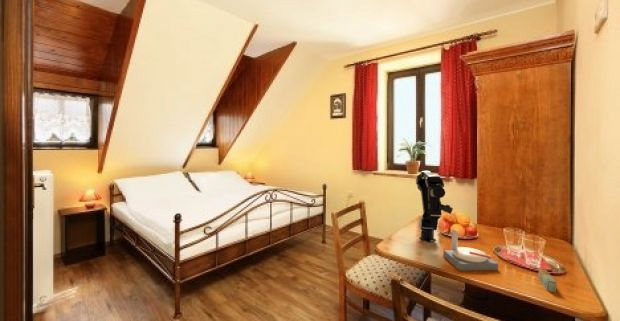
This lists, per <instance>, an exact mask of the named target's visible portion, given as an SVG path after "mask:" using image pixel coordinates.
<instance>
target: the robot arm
mask: <svg viewBox="0 0 620 321" xmlns="http://www.w3.org/2000/svg"><path fill="white" fill-rule="evenodd" d="M415 185H416V187H417V189H418V190H419V191H420V196H421V204H422V211H423V212H422V213H423V214H422V215H421V218H420V220H419V223H418V226H419V229H420V230H421V231H420V237H419V239H420V240H423V241H425V242H428V243H429V242H433V241H436V240H437V239H436V238H434V237H435V236H434V235H435V231H437V229H438V224H439V219H441V217H442V215H443V214H442V211H443V212H445V213H448V214H450V215H451V214H452V213H453V209H454V208H453V207H451V205H450V204H446V205H445V204H442V201H441V199H442V198H443V197H445V195H446V190H445V188H444V187H445V183H444V180H443V177H441V175H435V174H434V173H432V172H431V170H422V171H421V172H420V173H419V174H418V175H417V176H416V179H415Z"/></svg>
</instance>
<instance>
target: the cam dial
mask: <svg viewBox="0 0 620 321" xmlns="http://www.w3.org/2000/svg"><path fill="white" fill-rule="evenodd" d="M458 239H459V230H457V229H452V230H451V246H450V247H451V249H450V250H453V255H454V256H455V257H456V258H458V259H461V260H464V261H468V262H474V263H482V262H485V261H487V257H488V258H491V259H492V256H491V255H490V256H488V255H489V254H487V253H486V254H485V253H484V252H485V251H482V250H479V249H478V248H477V249H476V248H472V247H469V246H468V247H465V246H458V244H459V242H458V241H459V240H458Z"/></svg>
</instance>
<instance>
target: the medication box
mask: <svg viewBox="0 0 620 321" xmlns="http://www.w3.org/2000/svg"><path fill="white" fill-rule="evenodd" d="M537 275H538V279H539V281H540V282H541V284H542V285H543V287H544V288H545V290H546V291H547V292H552V293H556V290H557V281H556V280H555V279H554V278H553V275H551V274H550V272H548V270H547V269H544V268H543V269H542V268H538V274H537Z"/></svg>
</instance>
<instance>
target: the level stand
mask: <svg viewBox="0 0 620 321" xmlns="http://www.w3.org/2000/svg"><path fill="white" fill-rule="evenodd" d="M483 252H484V253H485V254H487V252H485V251H483ZM487 255H488V256H491V255H490V254H487ZM443 257H444V258H445V259H446V260H447V261H448V262H449V263H450V264H452V265H453V266H454V267H455V268H456V269H457V270H459V271H498V270H499V263H498V262H497V261H495V260H493V259H492V257H491V258H488V257H487V261H485V262H482V263H474V262H468V261H464V260H461V259H458V258H456V257H455V256H454V255H453V250H452V249H444V250H443Z"/></svg>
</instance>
